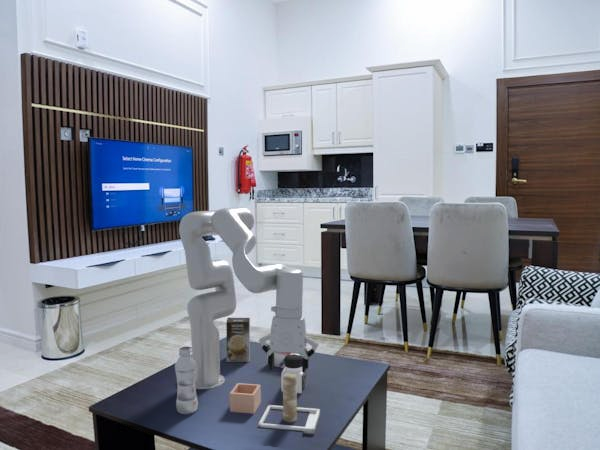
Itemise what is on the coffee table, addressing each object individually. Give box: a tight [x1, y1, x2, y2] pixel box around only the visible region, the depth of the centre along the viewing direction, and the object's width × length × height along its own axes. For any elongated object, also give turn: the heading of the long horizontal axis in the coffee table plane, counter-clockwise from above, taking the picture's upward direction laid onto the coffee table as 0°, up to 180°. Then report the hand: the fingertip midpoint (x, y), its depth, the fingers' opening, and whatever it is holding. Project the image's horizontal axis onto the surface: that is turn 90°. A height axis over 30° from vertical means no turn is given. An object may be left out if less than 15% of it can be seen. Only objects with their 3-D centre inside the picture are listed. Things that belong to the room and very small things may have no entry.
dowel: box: [282, 374, 298, 423], centre depth 141 cm, size 4×4×13 cm
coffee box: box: [225, 317, 251, 363], centre depth 190 cm, size 9×6×16 cm
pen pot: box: [229, 382, 262, 415], centre depth 149 cm, size 8×8×6 cm
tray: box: [257, 404, 321, 435], centre depth 142 cm, size 16×12×2 cm
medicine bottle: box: [280, 353, 307, 394], centre depth 162 cm, size 7×7×12 cm
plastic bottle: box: [174, 346, 199, 415], centre depth 146 cm, size 6×7×20 cm
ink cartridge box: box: [266, 351, 295, 369], centre depth 184 cm, size 2×11×10 cm, turn 61°
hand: (287, 369), depth 141 cm, fingers open, 9 cm apart
